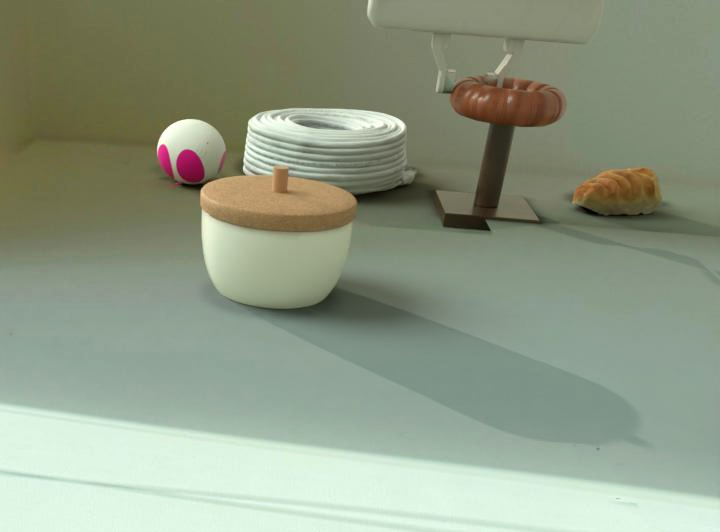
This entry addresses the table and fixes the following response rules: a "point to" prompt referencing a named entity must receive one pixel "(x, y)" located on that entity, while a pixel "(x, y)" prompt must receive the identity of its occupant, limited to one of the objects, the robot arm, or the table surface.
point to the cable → (330, 147)
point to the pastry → (620, 192)
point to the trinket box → (275, 238)
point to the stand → (486, 190)
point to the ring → (508, 102)
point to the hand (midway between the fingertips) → (466, 94)
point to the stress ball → (191, 151)
